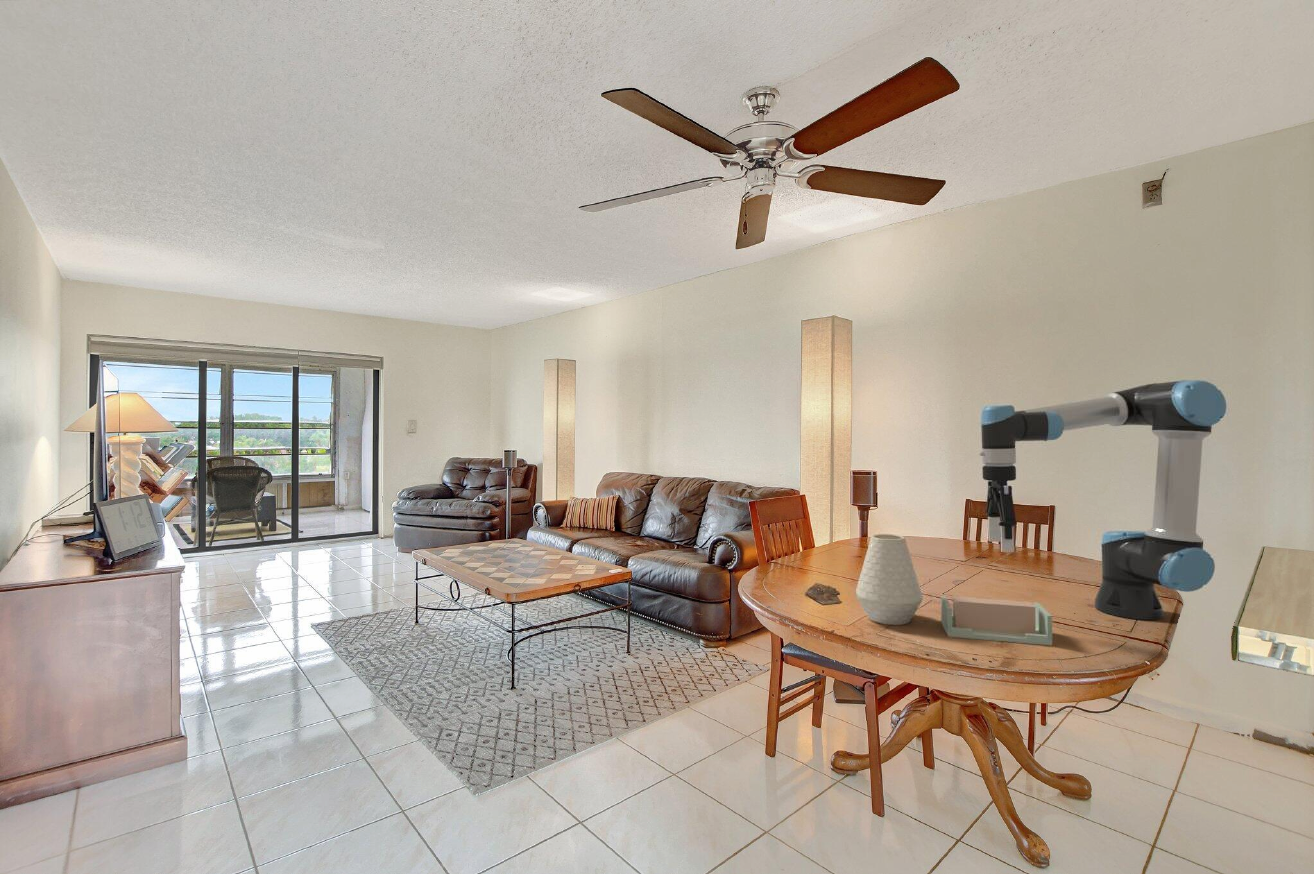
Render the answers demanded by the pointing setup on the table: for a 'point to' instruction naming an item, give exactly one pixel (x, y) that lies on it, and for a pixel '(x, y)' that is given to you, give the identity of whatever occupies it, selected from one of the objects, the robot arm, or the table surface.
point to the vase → (888, 581)
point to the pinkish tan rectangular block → (994, 615)
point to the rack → (1041, 636)
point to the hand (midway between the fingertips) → (1000, 546)
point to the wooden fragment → (823, 594)
